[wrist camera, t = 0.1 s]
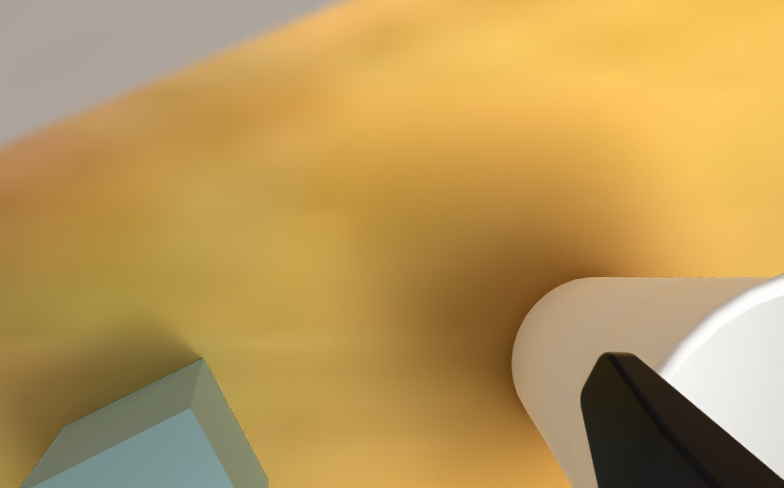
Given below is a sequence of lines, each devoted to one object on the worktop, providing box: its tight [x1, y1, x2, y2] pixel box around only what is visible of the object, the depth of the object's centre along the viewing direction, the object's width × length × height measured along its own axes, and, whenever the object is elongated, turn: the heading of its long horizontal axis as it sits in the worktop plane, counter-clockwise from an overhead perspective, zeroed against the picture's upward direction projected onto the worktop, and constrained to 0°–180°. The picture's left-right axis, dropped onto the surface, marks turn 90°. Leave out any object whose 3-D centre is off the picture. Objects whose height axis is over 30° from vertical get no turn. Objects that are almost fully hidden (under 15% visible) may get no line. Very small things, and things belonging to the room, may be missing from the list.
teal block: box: [19, 358, 269, 488], centre depth 21 cm, size 5×5×5 cm
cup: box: [512, 273, 784, 488], centre depth 21 cm, size 10×10×11 cm
